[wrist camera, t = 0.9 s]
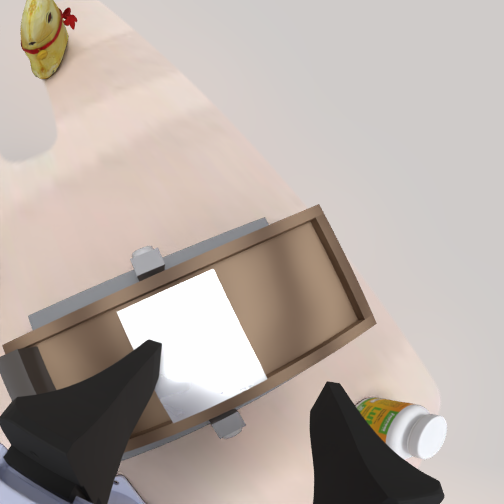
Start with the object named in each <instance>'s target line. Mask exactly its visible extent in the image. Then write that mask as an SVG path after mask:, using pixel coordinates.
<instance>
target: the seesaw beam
mask: <svg viewBox="0 0 504 504" xmlns="http://www.w3.org/2000/svg"><path fill="white" fill-rule="evenodd" d="M212 269H214V272H215V274H216V276H217V278H218V280H219V282H220V284H221V286H222V288H223V291H224V293H225V295H226V297H227V299H228V301H229V303H230V305H231V307H232V309H233V311H234V313H235V315H236V317H237V319H238V321H239V324H240V326H241V328H242V330H243V332H244V334H245V336H246V338H247V340H248V342H249V344H250V346H251V348H252V350H253V351H254V353H255V355H256V357H257V359H258V361H259V363H260V365H261V367H262V369H263V371H264V373H265V375H266V377H267V380H265V381H263V382H261V383H259V384H257V385H255V386H253V387H252V388H250V389H248V390H246V391H244V392H242V393H240V394H238V395H236V396H234V397H231V398H229V399H227V400H225V401H223V402H221V403H219V404H217V405H215V406H212V407H210V408H208V409H206V410H204V411H201V412H199V413H197V414H195V415H192V416H190V417H188V418H185V419H183V420H180V421H178V422H176V423H173V422H172V420H171V418H170V417H169V415H168V413H167V412H166V410H165V408H164V406H163V405H162V403H161V401H160V399H159V398H158V396H157V394H156V392H155V390H154V391H153V394H152V396H151V398H150V400H149V402H148V404H147V406H146V408H145V409H144V411H143V413H142V415H141V417H140V419H139V420H138V422H137V424H136V426H135V428H134V430H133V432H132V434H131V436H130V438H129V440H128V443H127V446H126V448H125V451H124V453H125V452H128V451H131V450H134V449H137V448H140V447H143V446H146V445H148V444H151V443H154V442H157V441H159V440H162V439H164V438H167V437H170V436H172V435H175V434H177V433H180V432H182V431H185V430H187V429H189V428H192V427H194V426H196V425H199V424H201V423H203V422H206V421H208V420H210V419H212V418H214V417H217V416H219V415H221V414H223V413H225V412H227V411H229V410H232V409H234V408H236V407H238V406H240V405H242V404H244V403H246V402H248V401H250V400H252V399H254V398H256V397H258V396H259V395H261V394H263V393H265V392H267V391H269V390H271V389H273V388H274V387H276V386H278V385H280V384H282V383H284V382H285V381H287V380H289V379H291V378H292V377H294V376H296V375H298V374H299V373H301V372H303V371H304V370H306V369H308V368H309V367H311V366H313V365H314V364H316V363H318V362H319V361H321V360H323V359H324V358H326V357H327V356H329V355H331V354H332V353H334V352H335V351H337V350H338V349H340V348H341V347H343V346H344V345H346V344H348V343H349V342H351V341H352V340H353V339H355V338H356V337H358V336H359V335H361V334H362V333H364V332H365V331H367V330H368V329H369V328H371V327H372V326H374V325H375V324H377V323H376V321H375V319H374V316H373V314H372V312H371V310H370V307H369V305H368V303H367V301H366V298H365V296H364V294H363V292H362V290H361V287H360V285H359V283H358V281H357V279H356V277H355V275H354V272H353V270H352V268H351V266H350V264H349V262H348V260H347V258H346V256H345V254H344V252H343V250H342V248H341V246H340V244H339V242H338V240H337V238H336V236H335V234H334V232H333V230H332V228H331V226H330V224H329V222H328V221H327V218H326V217H325V215H324V213H323V211H322V209H321V207H320V205H319V204H318V205H316V206H314V207H311V208H309V209H306V210H304V211H302V212H299V213H297V214H294V215H292V216H290V217H287V218H285V219H282V220H280V221H278V222H275V223H273V224H271V225H268V226H266V227H263V228H261V229H259V230H256V231H254V232H252V233H249V234H247V235H245V236H242V237H240V238H238V239H235V240H233V241H231V242H228V243H226V244H224V245H221V246H219V247H217V248H214V249H212V250H210V251H208V252H205V253H203V254H201V255H198V256H196V257H194V258H192V259H189V260H187V261H185V262H182V263H180V264H178V265H176V266H173V267H171V268H169V269H167V270H164V271H162V272H160V273H158V274H155V275H153V276H151V277H149V278H146V279H144V280H142V281H140V282H137V283H135V284H133V285H131V286H128V287H126V288H124V289H122V290H120V291H117V292H115V293H113V294H111V295H109V296H106V297H104V298H102V299H100V300H98V301H95V302H93V303H91V304H89V305H87V306H85V307H82V308H80V309H78V310H76V311H74V312H72V313H69V314H67V315H65V316H63V317H61V318H59V319H57V320H54V321H52V322H50V323H48V324H46V325H44V326H42V327H39V328H37V329H35V330H33V331H31V332H29V333H27V334H25V335H23V336H21V337H18V338H16V339H14V340H12V341H10V342H8V343H6V344H4V345H2V346H3V349H4V352H5V354H6V355H3V356H1V357H0V374H1V376H2V379H3V381H4V384H5V386H6V388H7V391H8V393H9V395H10V397H11V399H12V401H13V400H14V399H15V398H16V397H21V396H29V395H37V394H42V393H47V392H51V391H55V390H59V389H62V388H65V387H68V386H71V385H73V384H76V383H79V382H81V381H83V380H85V379H88V378H90V377H92V376H94V375H96V374H98V373H99V372H101V371H103V370H105V369H106V368H108V367H110V366H111V365H113V364H114V363H116V362H117V361H119V360H120V359H122V358H123V357H125V356H126V355H128V354H129V353H130V352H132V351H133V350H134V349H133V347H132V345H131V343H130V340H129V338H128V336H127V334H126V332H125V329H124V327H123V325H122V323H121V320H120V318H119V316H118V313H117V312H118V311H120V310H123V309H125V308H127V307H129V306H132V305H134V304H136V303H138V302H141V301H143V300H145V299H147V298H150V297H152V296H154V295H156V294H158V293H161V292H163V291H165V290H167V289H170V288H172V287H174V286H176V285H179V284H181V283H183V282H185V281H187V280H190V279H192V278H194V277H196V276H199V275H201V274H203V273H205V272H208V271H210V270H212Z"/></svg>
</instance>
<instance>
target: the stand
mask: <svg viewBox="0 0 504 504" xmlns="http://www.w3.org/2000/svg"><path fill="white" fill-rule="evenodd" d="M266 226H268V223H267V221H266V219H265V217H264V218H261V219H259V220H256V221H253V222H251V223H248V224H246V225H243V226H241V227H238V228H235V229H233V230H230V231H228V232H225V233H223V234H220V235H218V236H215V237H213V238H210V239H208V240H205V241H202V242H200V243H197V244H195V245H193V246H190V247H188V248H185V249H183V250H180V251H178V252H175V253H173V254H170V255H168V256H165V257H163V258H162V256H161V254H160V251H159V249H158V248H156V249H153V247H152V246H146V247H143V248H140V249H138V250H136V251H135V252H134V253H133V254H132V257H133V258H132V259H130V260H131V262H132V265H133V267H134V270H132V271H129V272H127V273H125V274H122V275H120V276H118V277H115V278H113V279H111V280H108V281H106V282H104V283H101V284H99V285H97V286H94V287H92V288H90V289H87V290H85V291H83V292H80V293H78V294H76V295H74V296H71V297H69V298H67V299H65V300H62V301H60V302H58V303H56V304H53V305H51V306H49V307H47V308H45V309H42V310H40V311H38V312H36V313H34V314H31V315H29V316H28V317H29V320H30V323H31V326H32V329H33V330H35V329H37V328H39V327H42V326H44V325H46V324H48V323H50V322H52V321H54V320H57V319H59V318H61V317H63V316H65V315H67V314H69V313H72V312H74V311H76V310H78V309H80V308H82V307H85V306H87V305H89V304H91V303H93V302H95V301H98V300H100V299H102V298H104V297H106V296H109V295H111V294H113V293H115V292H117V291H120V290H122V289H124V288H126V287H128V286H131V285H133V284H135V283H137V282H140V281H142V280H144V279H146V278H149V277H151V276H153V275H155V274H158V273H160V272H162V271H164V270H167V269H169V268H171V267H173V266H176V265H178V264H180V263H182V262H185V261H187V260H189V259H192V258H194V257H196V256H198V255H201V254H203V253H205V252H208V251H210V250H212V249H214V248H217V247H219V246H221V245H224V244H226V243H228V242H231V241H233V240H235V239H238V238H240V237H242V236H245V235H247V234H249V233H252V232H254V231H256V230H259V229H261V228H263V227H266ZM304 371H305V370H304ZM299 374H300V373H299ZM296 376H297V375H296ZM294 377H295V376H294ZM292 378H293V377H292ZM292 378H291V379H292ZM289 380H290V379H289ZM289 380H287V381H289ZM287 381H285V382H287ZM285 382H284V383H285ZM284 383H282V384H284ZM282 384H280V385H282ZM280 385H278V386H276V387H274V388H273V389H275V388H277V387H279V386H280ZM273 389H271V390H269V391H267V392H265V393H263V394H261V395H259V396H258V397H256V398H254V399H252V400H250V401H248V402H246V403H244V404H242V405H240V406H238V407H236V408H234V409H232V410H229V411H227V412H225V413H223V414H221V415H219V416H217V417H214V418H212V419H210V420H208V421H206V422H203V423H201V424H199V425H196V426H194V427H192V428H189V429H187V430H185V431H182V432H180V433H177V434H175V435H172V436H170V437H167V438H164V439H162V440H159V441H157V442H154V443H151V444H148V445H146V446H143V447H140V448H137V449H134V450H131V451H128V452H125V453H124V454H123V456H122V459H121V461H122V460H125V459H128V458H131V457H133V456H136V455H139V454H141V453H144V452H147V451H149V450H152V449H154V448H157V447H159V446H161V445H164V444H166V443H169V442H171V441H173V440H176V439H178V438H180V437H182V436H185V435H187V434H189V433H191V432H193V431H196V430H198V429H200V428H202V427H204V426H206V425H208V424H210V423H211V425H212V427H213V428H214V430H215V432H216V433H217V435H218V436H219V438H220V439H221V438H231V437H233V436H235V435H237V434H238V433H240V432H241V430H242V427H244V426H246V424H245V423H244V421H243V419H242V417H241V416H240V414H239V412H238V411H237V410H238V409H240V408H241V407H243V406H245V405H247V404H249V403H251V402H252V401H254V400H256V399H258V398H260V397H261V396H263V395H265V394H267V393H268V392H270V391H272V390H273Z"/></svg>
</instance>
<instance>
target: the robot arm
mask: <svg viewBox="0 0 504 504" xmlns="http://www.w3.org/2000/svg"><path fill="white" fill-rule="evenodd" d="M161 350H162V343H160V342H157V341H154V340H151V339H148V340H146V341H145V342H143V343H142V344H141V345H140V346H138V347H137V348H136V349H134V350H133V351H132V352H130V353H129V354H128V355H126V356H125V357H123V358H122V359H120V360H119V361H117V362H116V363H114V364H113V365H111V366H110V367H108V368H106V369H105V370H103V371H101V372H99V373H98V374H96V375H94V376H92V377H90V378H88V379H85V380H83V381H81V382H79V383H76V384H73V385H71V386H68V387H65V388H62V389H59V390H55V391H51V392H47V393H42V394H37V395H29V396H21V397H16V398H15V399H14V400H13V401H12V402H11V404H10V405H9V406H8V407H7V409H6V410H5V411H4V412H3V414H2V415H1V416H0V426H1V428H2V430H3V432H4V433H5V435H6V437H7V439H8V440H9V442H10V443H11V447H10V448H9V450H8V449H7V448H6V447H5V446H4V445H3V444H1V443H0V504H146V503H145V502H144V501H143V500H142V498H141V497H140V496H139V495H138V493H137V492H136V491H135V490H134V488H133V487H132V486H131V484H130V483H129V482H128V481H127V479H126V478H125V477H124V476H121V475H118V476H116V474H117V471H118V468H119V465H120V462H121V459H122V456H123V454H124V451H125V448H126V446H127V443H128V440H129V438H130V436H131V434H132V432H133V430H134V428H135V426H136V424H137V422H138V420H139V419H140V417H141V415H142V413H143V411H144V409H145V408H146V406H147V404H148V402H149V400H150V398H151V396H152V394H153V391H154V389H155V386H156V384H157V381H158V378H159V372H160V360H161ZM310 438H311V448H312V456H313V466H314V500H313V504H440V503H441V502H442V500H443V499H444V493H443V490H442V487H441V484H440V482H439V481H438V480H436V479H434V478H432V477H430V476H429V475H427V474H425V473H423V472H421V471H420V470H418V469H417V468H415V467H414V466H412V465H411V464H409V463H408V462H407V461H405V460H404V459H403V458H401V457H400V456H399V455H398V454H397V453H395V452H394V451H393V450H392V449H391V448H390V447H389V446H388V445H387V444H386V443H385V442H384V441H383V440H382V439H381V438H380V437H379V436H378V435H377V434H376V432H375V431H374V430H373V429H372V428H371V426H370V425H369V424H368V423H367V421H366V420H365V419H364V417H363V416H362V415H361V413H360V412H359V411H358V409H357V408H356V406H355V405H354V403H353V402H352V401H351V399H350V398H349V396H348V395H347V393H346V392H345V390H344V389H343V387H342V386H341V385H340V383H334V382H326V384H325V386H324V388H323V390H322V391H321V393H320V395H319V397H318V399H317V400H316V402H315V404H314V406H313V407H312V409H311V411H310ZM114 481H118V482H119V483H115V482H114Z"/></svg>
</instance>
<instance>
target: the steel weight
mask: <svg viewBox="0 0 504 504" xmlns="http://www.w3.org/2000/svg"><path fill="white" fill-rule="evenodd" d="M117 313H118V316H119V318H120V320H121V323H122V325H123V327H124V329H125V332H126V334H127V336H128V338H129V340H130V343H131V345H132V347H133V349H136V348H137V347H138V346H140V345H141V344H142V343H143V342H145V341H146V340H148V339H151V340H154V341H157V342H160V343H162V350H161V360H160V372H159V378H158V381H157V384H156V386H155V389H154V390H155V392H156V394H157V396H158V398H159V399H160V401H161V403H162V405H163V406H164V408H165V410H166V412H167V413H168V415H169V417H170V418H171V420H172V422H173V423H176V422H178V421H180V420H183V419H185V418H188V417H190V416H192V415H195V414H197V413H199V412H201V411H204V410H206V409H208V408H210V407H212V406H215V405H217V404H219V403H221V402H223V401H225V400H227V399H229V398H231V397H234V396H236V395H238V394H240V393H242V392H244V391H246V390H248V389H250V388H252V387H253V386H255V385H257V384H259V383H261V382H263V381H265V380H267V377H266V375H265V373H264V371H263V369H262V367H261V365H260V363H259V361H258V359H257V357H256V355H255V353H254V351H253V350H252V348H251V346H250V344H249V342H248V340H247V338H246V336H245V334H244V332H243V330H242V328H241V326H240V324H239V321H238V319H237V317H236V315H235V313H234V311H233V309H232V307H231V305H230V303H229V301H228V299H227V297H226V295H225V293H224V291H223V288H222V286H221V284H220V282H219V280H218V278H217V276H216V274H215V272H214V269H212V270H210V271H208V272H205V273H203V274H201V275H199V276H196V277H194V278H192V279H190V280H187V281H185V282H183V283H181V284H179V285H176V286H174V287H172V288H170V289H167V290H165V291H163V292H161V293H158V294H156V295H154V296H152V297H150V298H147V299H145V300H143V301H141V302H138V303H136V304H134V305H132V306H129V307H127V308H125V309H123V310H120V311H118V312H117Z"/></svg>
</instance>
